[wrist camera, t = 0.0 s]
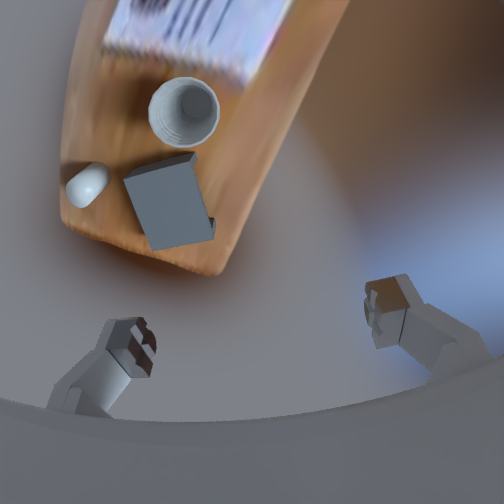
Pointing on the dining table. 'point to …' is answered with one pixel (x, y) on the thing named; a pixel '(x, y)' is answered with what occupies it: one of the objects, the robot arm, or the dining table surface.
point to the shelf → (170, 203)
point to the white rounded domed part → (87, 184)
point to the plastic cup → (184, 112)
